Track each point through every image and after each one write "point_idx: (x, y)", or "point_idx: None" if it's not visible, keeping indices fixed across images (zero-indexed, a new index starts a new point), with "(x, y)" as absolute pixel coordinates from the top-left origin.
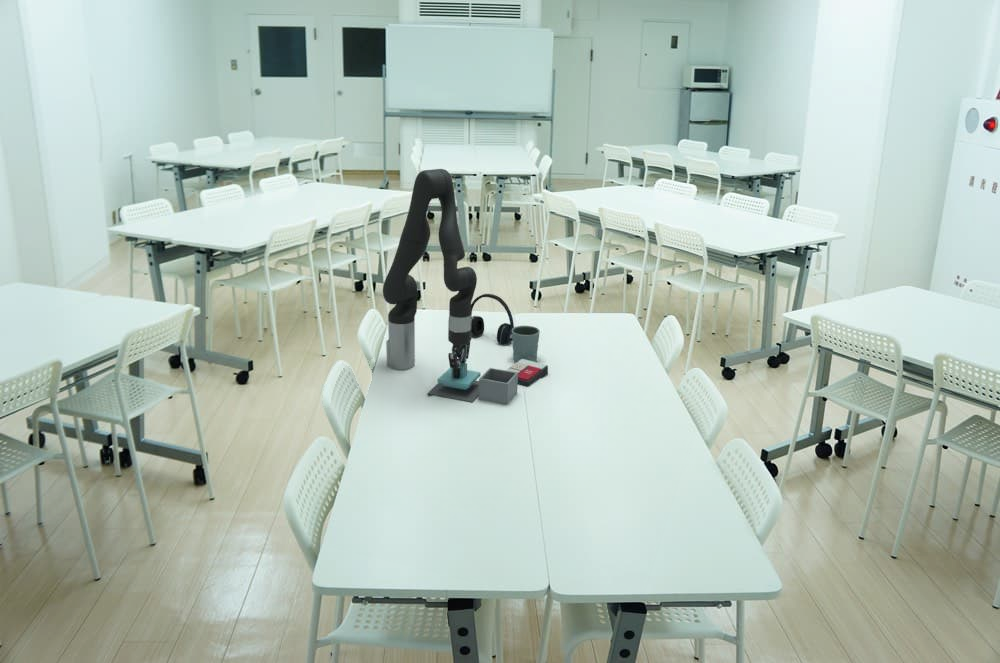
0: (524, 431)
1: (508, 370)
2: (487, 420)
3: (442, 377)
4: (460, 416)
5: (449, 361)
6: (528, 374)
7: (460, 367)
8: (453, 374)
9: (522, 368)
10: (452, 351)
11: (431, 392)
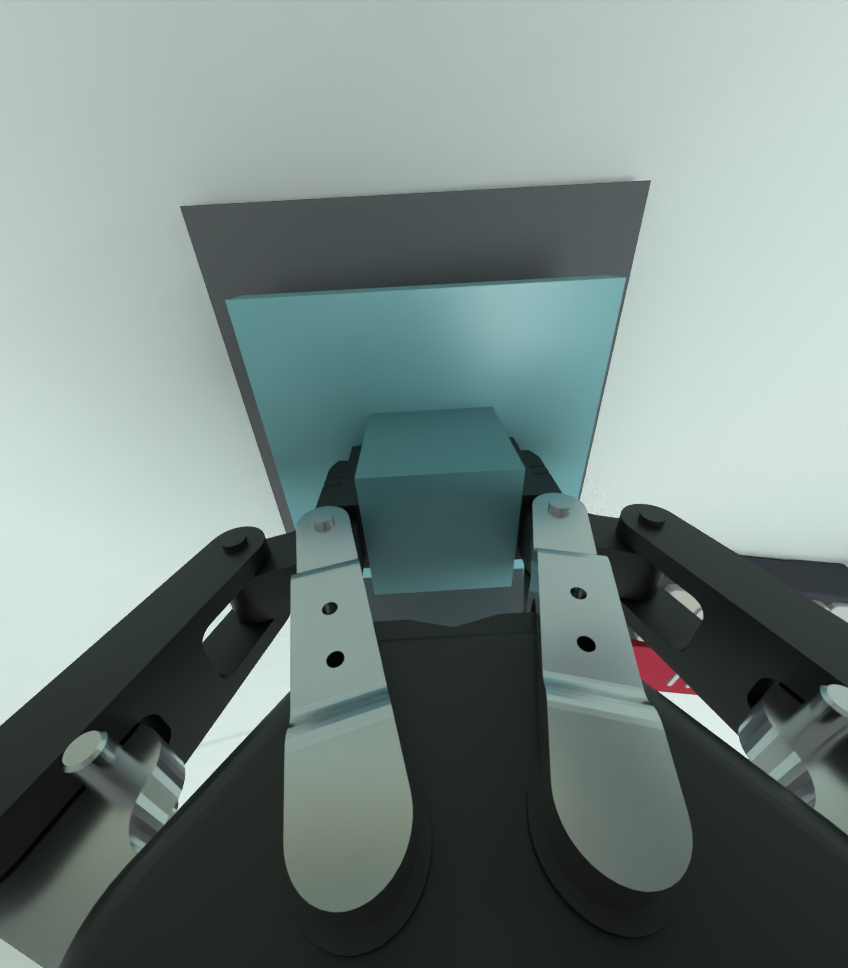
0: (229, 727)
1: (702, 611)
2: (203, 638)
3: (305, 332)
4: (135, 548)
5: (113, 634)
6: (659, 679)
7: (373, 574)
8: (327, 476)
9: None
10: (15, 945)
11: (223, 239)
